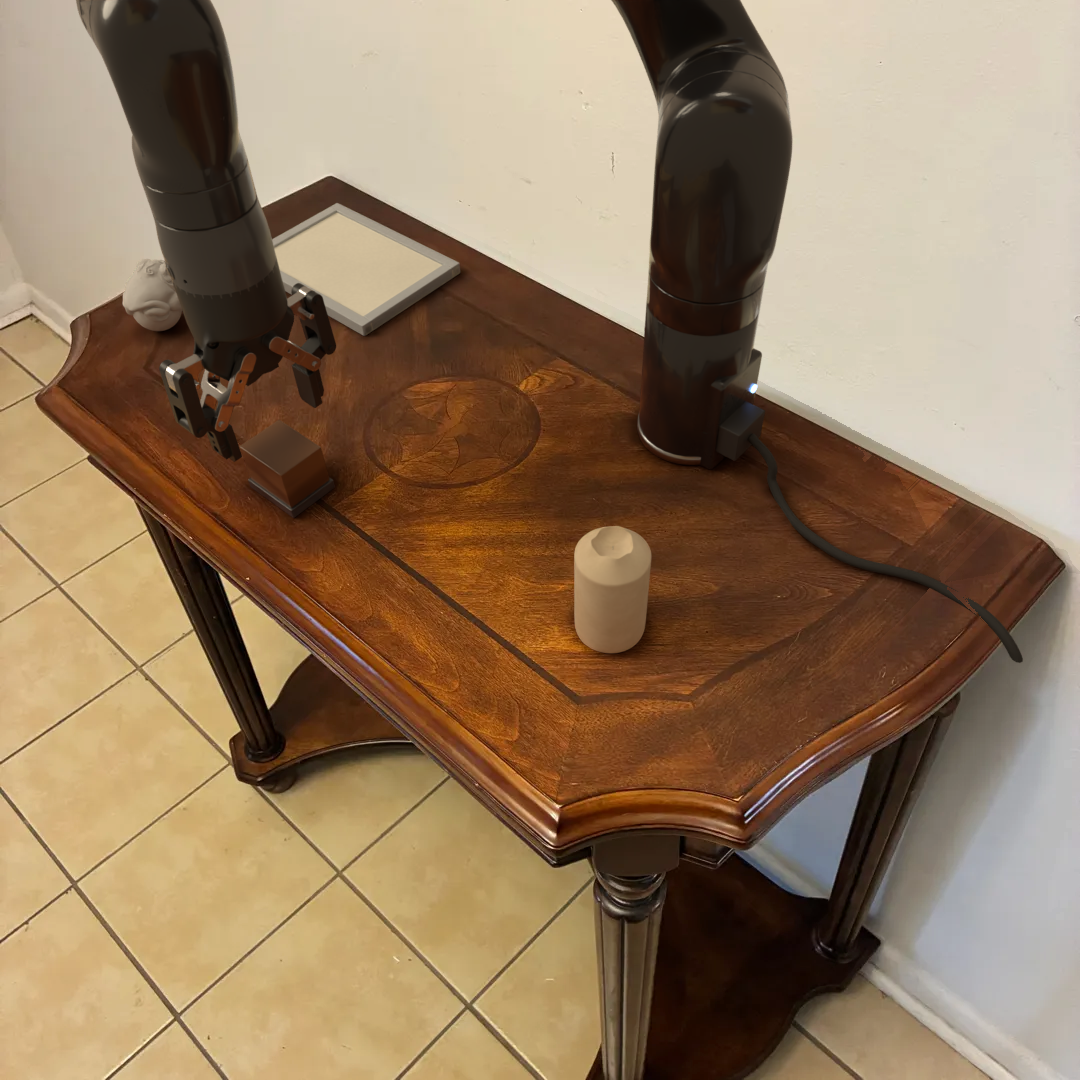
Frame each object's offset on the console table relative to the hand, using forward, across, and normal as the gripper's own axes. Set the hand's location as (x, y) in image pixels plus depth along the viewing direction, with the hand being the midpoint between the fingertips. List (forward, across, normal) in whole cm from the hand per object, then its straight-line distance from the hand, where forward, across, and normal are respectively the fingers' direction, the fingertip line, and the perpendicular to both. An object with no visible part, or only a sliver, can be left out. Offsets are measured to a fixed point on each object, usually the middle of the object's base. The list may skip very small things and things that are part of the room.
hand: (272, 428), depth 83 cm
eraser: (+7, 0, 0) cm, 7 cm away
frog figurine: (+7, +7, +29) cm, 30 cm away
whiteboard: (+7, +26, +21) cm, 34 cm away
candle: (+7, +6, -31) cm, 33 cm away
